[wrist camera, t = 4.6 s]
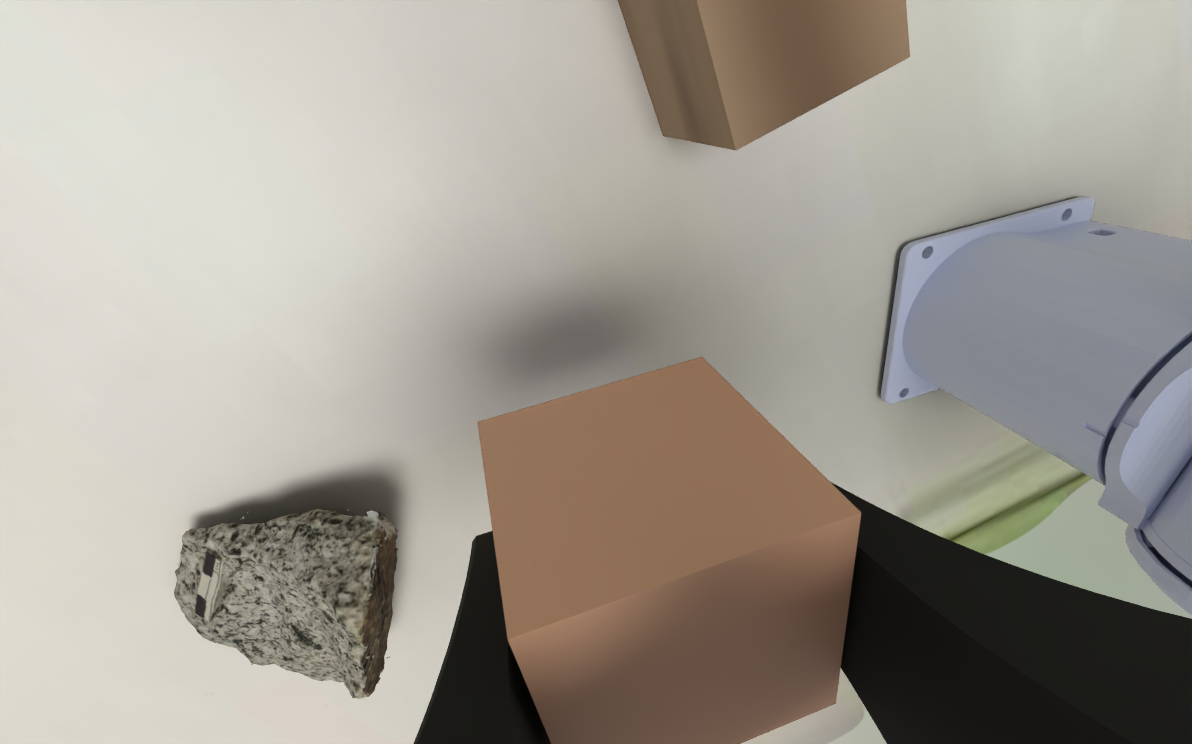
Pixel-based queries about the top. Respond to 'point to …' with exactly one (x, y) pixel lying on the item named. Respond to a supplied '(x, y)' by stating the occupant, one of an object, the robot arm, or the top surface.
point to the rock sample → (296, 592)
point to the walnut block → (757, 59)
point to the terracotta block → (667, 562)
